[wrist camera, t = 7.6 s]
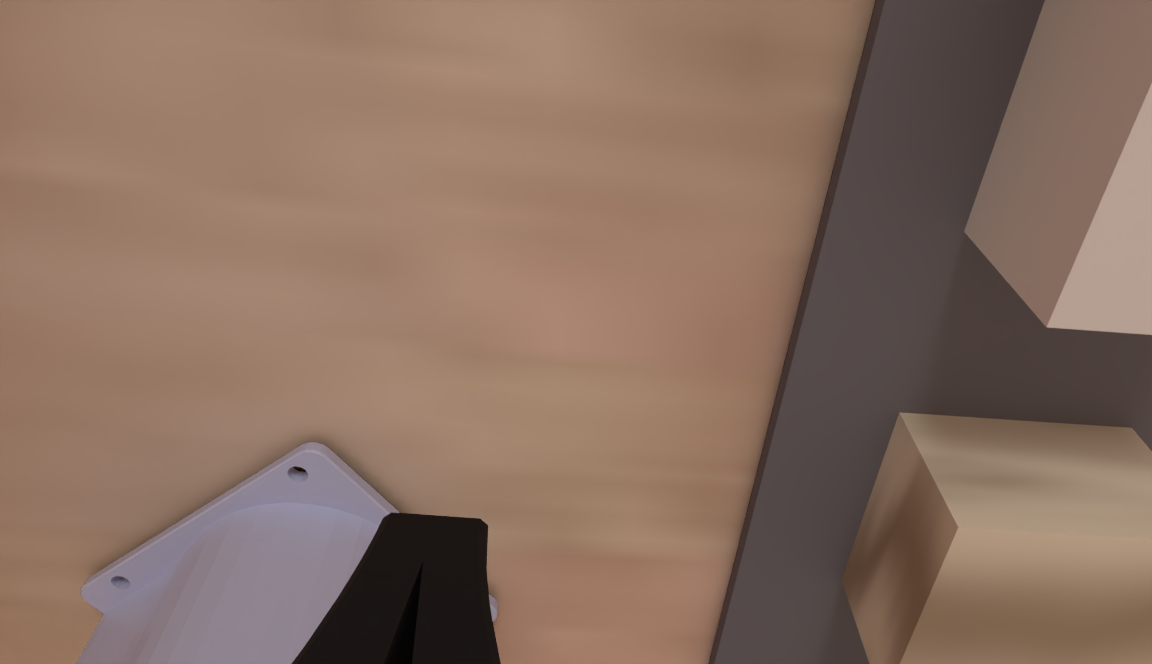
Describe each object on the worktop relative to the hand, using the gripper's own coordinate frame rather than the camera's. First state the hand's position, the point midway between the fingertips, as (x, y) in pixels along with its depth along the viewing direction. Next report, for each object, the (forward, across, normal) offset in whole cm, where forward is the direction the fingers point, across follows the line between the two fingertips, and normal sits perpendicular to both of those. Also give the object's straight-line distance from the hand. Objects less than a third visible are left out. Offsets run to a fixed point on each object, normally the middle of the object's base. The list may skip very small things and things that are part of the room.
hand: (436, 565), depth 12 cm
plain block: (+9, -13, +7) cm, 17 cm away
